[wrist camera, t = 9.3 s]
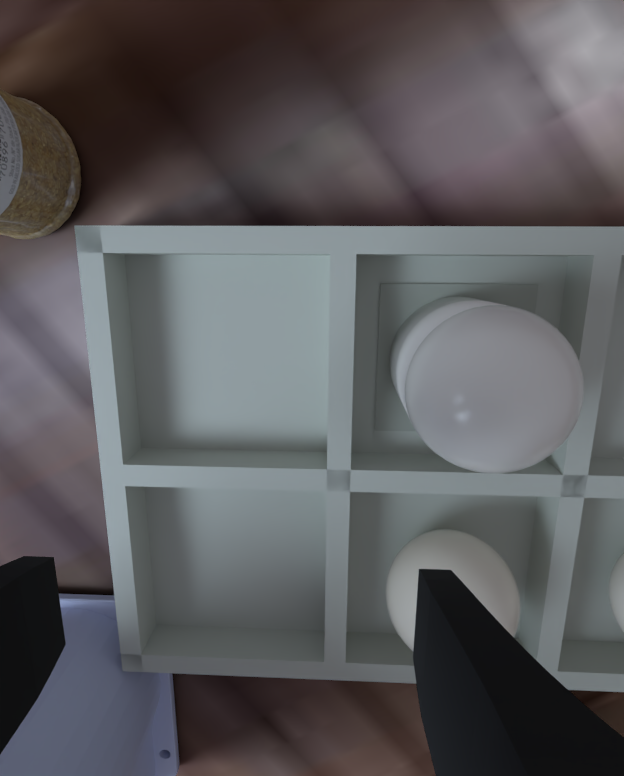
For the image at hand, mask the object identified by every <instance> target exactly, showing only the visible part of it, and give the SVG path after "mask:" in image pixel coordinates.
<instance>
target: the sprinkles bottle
mask: <svg viewBox="0 0 624 776" xmlns="http://www.w3.org/2000/svg"><path fill="white" fill-rule="evenodd" d="M80 169H81V168H80V163H79V159H78V156H77V153H76V150H75V146H74V144H73V142H72V140H71V138H70V137H69V135H68V134H67V132H66V131H65V129H64V128H63V127H62V126H61V125H60V123H59V122H58V120H57V119H56V118H55V117H53V116H52V115H51V114H49V113H48V112H47V111H46V110H45V109H43V108H42V107H41V106H39V105H38V104H36V103H34V102H32V101H29V100H27V99H24V98H20V97H15V96H13V95H10V94H9V93H7V92H5V91H3V90H1V89H0V234H1V235H5V236H10V237H13V238H17V239H34V238H38V237H42V236H46V235H49V234H51V233H52V232H53V231H55V230H57V229H58V228H60V227H61V226H62V224H63V223H64V222H65V221H66V220H67V219H68V218H69V217H70V216H71V213H72V211H73V210H74V208H75V206H76V204H77V202H78V200H79V194H80V188H81V175H80Z"/></svg>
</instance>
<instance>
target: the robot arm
mask: <svg viewBox="0 0 624 776" xmlns="http://www.w3.org/2000/svg"><path fill="white" fill-rule="evenodd" d="M413 662H414V670H415V677H416V684H417V691H418V698H419V704H420V711H421V717H422V721H423V725H424V729H425V733H426V737H427V741H428V745H429V749H430V753H431V758H432V762H433V766H434V770H435V774H436V776H624V738H623V737H622V736H621V735H620V734H619V733H617V732H616V731H615V730H614V729H612V728H611V727H610V726H609V725H608V724H606V723H605V722H604V721H603V720H601V719H600V718H599V717H598V716H597V715H596V714H594V713H593V712H592V711H591V710H590V709H589V708H588V707H586V706H585V705H584V704H583V703H582V702H581V701H580V700H578V699H577V698H576V697H575V696H574V695H573V694H572V693H571V692H570V691H569V690H568V689H566V688H565V687H564V686H563V685H562V684H561V683H560V682H559V681H558V680H557V679H556V678H555V677H553V676H552V675H551V674H550V673H549V672H548V671H547V670H546V669H545V668H544V667H543V666H542V665H541V664H540V663H539V662H538V661H537V660H536V659H534V658H533V657H532V656H531V655H530V654H529V653H528V652H527V651H526V650H525V649H524V648H523V646H522V645H521V644H520V643H519V642H518V641H517V640H516V639H515V638H514V637H513V636H512V635H511V634H510V633H509V632H508V631H507V630H506V629H505V628H504V627H503V626H502V625H501V624H500V623H499V622H498V621H497V620H496V618H495V617H494V616H493V615H492V614H491V613H490V612H489V611H488V610H487V609H486V608H485V606H484V605H483V604H482V603H481V602H480V601H479V600H478V599H477V598H476V597H475V595H474V594H473V593H472V592H471V591H470V590H469V589H468V588H467V587H466V586H465V584H464V583H463V582H462V581H461V580H460V579H459V578H458V577H457V576H456V575H455V574H454V572H453V571H452V570H442V569H419V575H418V590H417V605H416V620H415V634H414V649H413ZM178 769H179V751H178V738H177V725H176V713H175V700H174V687H173V674H172V673H151V672H127V671H122V662H121V652H120V643H119V634H118V625H117V615H116V606H115V597H114V595H85V594H59V592H58V585H57V578H56V571H55V564H54V557H32V556H23V557H21V558H18V559H16V560H14V561H11V562H9V563H7V564H5V565H2V566H0V776H176V775H177V772H178Z"/></svg>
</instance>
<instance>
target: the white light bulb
mask: <svg viewBox="0 0 624 776" xmlns="http://www.w3.org/2000/svg"><path fill="white" fill-rule="evenodd" d="M389 369H390V376H391V379H392V383H393V385H394V387H395V389H396V392H397V394H398V396H399V398H400V400H401V402H402V404H403V406H404V408H405V410H406V412H407V414H408V417H409V419H410V421H411V423H412V425H413V427H414V428H415V430H416V432H417V433H418V435H419V436H420V438H421V439H422V440H423V441H424V442H425V444H426V445H427V446H428V447H429V448H430V449H431V450H433V451H434V452H435V453H436V454H438V455H439V456H441V457H442V458H443V459H445V460H446V461H448V462H450V463H452V464H454V465H456V466H459V467H462V468H464V469H467V470H471V471H476V472H481V473H505V472H513V471H517V470H521V469H525V468H527V467H530V466H532V465H535V464H536V463H538V462H540V461H542V460H544V459H545V458H547V457H548V456H550V455H551V454H552V453H553V452H555V451H556V450H557V449H558V448H559V447H560V446H561V445H562V444H563V443H564V442H565V441H566V439H567V438H568V437H569V435H570V434H571V432H572V431H573V429H574V427H575V425H576V423H577V421H578V418H579V416H580V413H581V409H582V405H583V398H584V378H583V373H582V368H581V366H580V363H579V360H578V357H577V355H576V353H575V352H574V350H573V348H572V346H571V344H570V343H569V342H568V340H567V339H566V338H565V336H564V335H563V334H562V333H561V332H560V331H559V330H558V329H557V328H555V327H554V326H553V325H552V324H550V323H549V322H548V321H546V320H545V319H543V318H542V317H540V316H538V315H536V314H534V313H531V312H529V311H526V310H523V309H521V308H517V307H512V306H507V305H503V304H498V303H493V302H489V301H484V300H479V299H475V298H470V297H462V296H453V297H445V298H440V299H437V300H434V301H432V302H429V303H427V304H425V305H423V306H422V307H420V308H419V309H417V310H416V311H415V312H413V313H412V314H411V315H410V316H409V317H408V318H407V319H406V320H405V321H404V323H403V324H402V325H401V327H400V328H399V330H398V332H397V333H396V335H395V337H394V340H393V342H392V346H391V350H390V356H389Z"/></svg>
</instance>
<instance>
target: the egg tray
mask: <svg viewBox="0 0 624 776" xmlns="http://www.w3.org/2000/svg"><path fill="white" fill-rule="evenodd" d="M74 227H75V236H76V245H77V254H78V264H79V273H80V282H81V291H82V301H83V310H84V319H85V328H86V338H87V347H88V356H89V365H90V375H91V384H92V393H93V402H94V412H95V421H96V430H97V439H98V449H99V458H100V467H101V476H102V486H103V495H104V504H105V514H106V523H107V532H108V541H109V551H110V560H111V569H112V578H113V588H114V597H115V606H116V615H117V625H118V634H119V643H120V652H121V662H122V671H127V672H151V673H175V674H199V675H223V676H247V677H271V678H295V679H319V680H343V681H367V682H391V683H415V684H416V677H415V670H414V662H413V651H412V650H411V649H410V648H409V647H408V646H407V645H406V644H405V643H404V642H403V640H402V639H401V637H400V636H399V635H398V633H397V631H396V629H395V628H394V626H393V623H392V621H391V619H390V616H389V612H388V608H387V603H386V582H387V576H388V572H389V569H390V567H391V564H392V562H393V560H394V558H395V557H396V555H397V554H398V552H399V551H400V550H401V549H402V548H403V546H404V545H406V544H407V543H408V542H409V541H410V540H412V539H413V538H415V537H417V536H418V535H421V534H423V533H426V532H429V531H433V530H439V529H451V530H458V531H462V532H466V533H469V534H472V535H474V536H476V537H478V538H479V539H481V540H483V541H484V542H486V543H487V544H489V545H490V546H491V547H492V548H493V549H494V550H495V551H497V552H498V553H499V555H500V556H501V557H502V558H503V559H504V561H505V562H506V564H507V565H508V567H509V568H510V570H511V572H512V574H513V576H514V579H515V581H516V584H517V588H518V591H519V596H520V619H519V624H518V628H517V631H516V634H515V636H514V638H515V639H516V640H517V641H518V642H519V643H520V644H521V645H522V646H523V648H524V649H525V650H526V651H527V652H528V653H529V654H530V655H531V656H532V657H533V658H534V659H536V660H537V661H538V662H539V663H540V664H541V665H542V666H543V667H544V668H545V669H546V670H547V671H548V672H549V673H550V674H551V675H552V676H553V677H555V678H556V679H557V680H558V681H559V682H560V683H561V684H562V685H563V686H564V687H565V688H566V689H568V690H583V691H607V692H624V633H623V632H622V630H621V629H620V627H619V625H618V624H617V622H616V619H615V617H614V615H613V612H612V609H611V606H610V602H609V593H608V584H609V578H610V574H611V571H612V568H613V566H614V564H615V563H616V561H617V560H618V558H619V557H620V556H621V555H622V554H623V553H624V227H583V226H74ZM453 296H462V297H470V298H475V299H479V300H484V301H489V302H493V303H498V304H503V305H507V306H512V307H517V308H521V309H523V310H526V311H529V312H531V313H534V314H536V315H538V316H540V317H542V318H543V319H545V320H546V321H548V322H549V323H550V324H552V325H553V326H554V327H555V328H557V329H558V330H559V331H560V332H561V333H562V334H563V335H564V336H565V338H566V339H567V340H568V342H569V343H570V344H571V346H572V348H573V350H574V352H575V353H576V355H577V357H578V360H579V363H580V366H581V368H582V373H583V378H584V398H583V405H582V409H581V413H580V416H579V418H578V421H577V423H576V425H575V427H574V429H573V431H572V432H571V434H570V435H569V437H568V438H567V439H566V441H565V442H564V443H563V444H562V445H561V446H560V447H559V448H558V449H557V450H556V451H555V452H553V453H552V454H551V455H550V456H548V457H547V458H545V459H544V460H542V461H540V462H538V463H536V464H535V465H532V466H530V467H527V468H525V469H521V470H517V471H513V472H505V473H481V472H476V471H471V470H467V469H464V468H462V467H459V466H456V465H454V464H452V463H450V462H448V461H446V460H445V459H443V458H442V457H441V456H439V455H438V454H436V453H435V452H434V451H433V450H431V449H430V448H429V447H428V446H427V445H426V444H425V442H424V441H423V440H422V439H421V438H420V436H419V435H418V433H417V432H416V430H415V428H414V427H413V425H412V423H411V421H410V419H409V417H408V414H407V412H406V410H405V408H404V406H403V404H402V402H401V400H400V398H399V396H398V394H397V392H396V389H395V387H394V385H393V383H392V379H391V376H390V369H389V356H390V350H391V346H392V342H393V340H394V337H395V335H396V333H397V332H398V330H399V328H400V327H401V325H402V324H403V323H404V321H405V320H406V319H407V318H408V317H409V316H410V315H411V314H412V313H413V312H415V311H416V310H417V309H419V308H420V307H422V306H423V305H425V304H427V303H429V302H432V301H434V300H437V299H440V298H445V297H453Z"/></svg>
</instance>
